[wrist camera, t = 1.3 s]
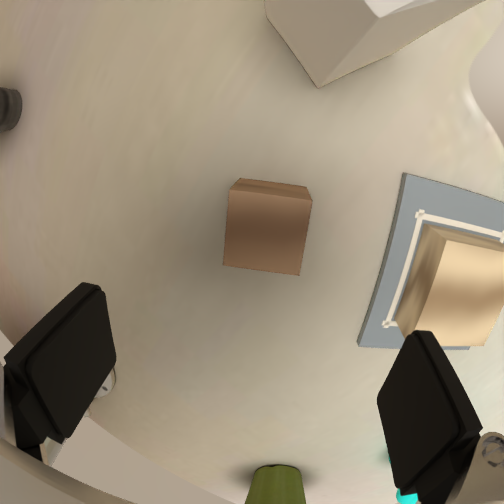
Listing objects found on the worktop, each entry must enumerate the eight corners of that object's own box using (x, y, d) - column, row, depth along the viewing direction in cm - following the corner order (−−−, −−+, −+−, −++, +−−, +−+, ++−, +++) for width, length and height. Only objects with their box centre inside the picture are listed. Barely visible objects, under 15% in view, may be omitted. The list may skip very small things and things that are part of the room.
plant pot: (239, 454, 37) (229, 520, 26) (321, 457, 36) (324, 523, 25) (239, 483, 41) (231, 537, 31) (307, 487, 40) (307, 540, 30)
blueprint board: (466, 345, 27) (469, 350, 26) (356, 341, 27) (358, 347, 26) (517, 207, 21) (522, 210, 20) (403, 172, 21) (407, 174, 20)
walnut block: (296, 248, 24) (298, 275, 20) (234, 239, 25) (222, 265, 20) (306, 186, 23) (312, 200, 18) (240, 178, 23) (229, 189, 18)
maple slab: (466, 322, 25) (483, 345, 21) (394, 318, 25) (407, 345, 21) (497, 240, 21) (521, 256, 18) (424, 223, 22) (446, 240, 18)
